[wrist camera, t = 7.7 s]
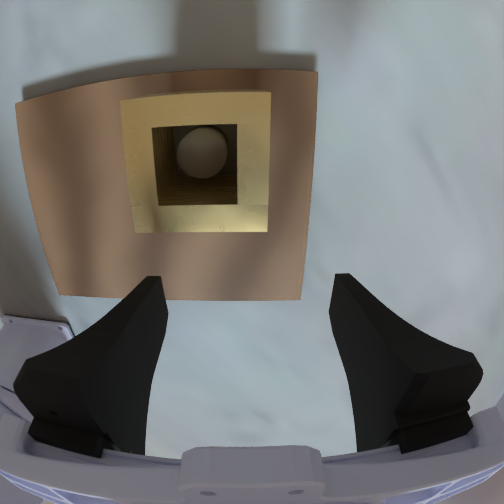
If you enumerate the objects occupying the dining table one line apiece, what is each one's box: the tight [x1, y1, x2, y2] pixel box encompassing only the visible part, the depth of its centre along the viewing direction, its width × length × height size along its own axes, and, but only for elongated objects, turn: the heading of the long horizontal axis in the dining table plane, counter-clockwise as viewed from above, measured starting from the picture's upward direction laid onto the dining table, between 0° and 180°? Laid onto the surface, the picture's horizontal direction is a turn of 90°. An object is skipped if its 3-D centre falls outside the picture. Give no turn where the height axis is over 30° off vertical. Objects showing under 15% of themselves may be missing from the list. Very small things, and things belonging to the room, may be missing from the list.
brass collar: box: [120, 89, 271, 233], centre depth 14 cm, size 6×6×4 cm
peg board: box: [15, 69, 318, 301], centre depth 18 cm, size 20×16×6 cm
